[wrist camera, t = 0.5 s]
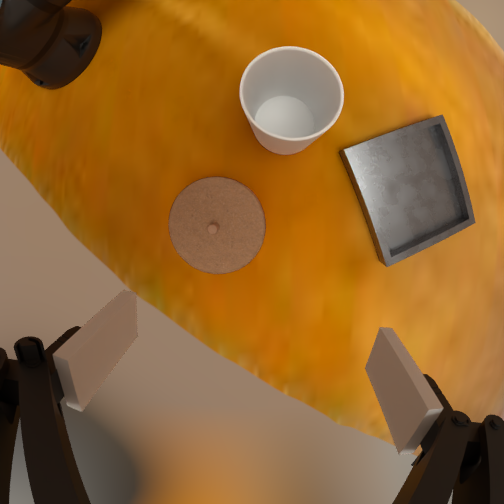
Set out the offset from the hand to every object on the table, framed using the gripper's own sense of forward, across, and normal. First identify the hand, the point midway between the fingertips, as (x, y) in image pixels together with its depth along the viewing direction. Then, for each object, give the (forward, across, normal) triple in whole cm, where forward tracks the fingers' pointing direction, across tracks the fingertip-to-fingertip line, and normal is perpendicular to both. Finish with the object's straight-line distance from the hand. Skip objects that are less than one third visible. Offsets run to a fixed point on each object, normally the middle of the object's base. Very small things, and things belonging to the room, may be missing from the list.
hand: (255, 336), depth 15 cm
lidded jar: (+26, -5, +2) cm, 27 cm away
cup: (+26, 0, +15) cm, 30 cm away
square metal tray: (+26, +19, +10) cm, 33 cm away
